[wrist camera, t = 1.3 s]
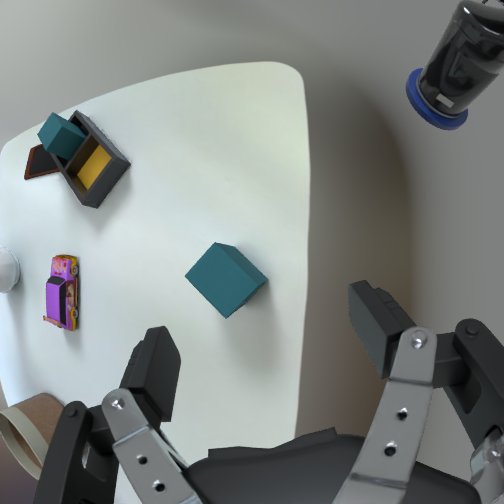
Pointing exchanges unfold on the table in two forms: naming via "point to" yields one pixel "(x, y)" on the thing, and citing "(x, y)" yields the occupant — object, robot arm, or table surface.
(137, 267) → the table surface
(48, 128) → the teal cuboid
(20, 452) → the planter
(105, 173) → the dark grey open box
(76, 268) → the toy car
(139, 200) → the table surface
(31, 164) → the smartphone
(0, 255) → the flower vase
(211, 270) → the teal block
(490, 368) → the robot arm
